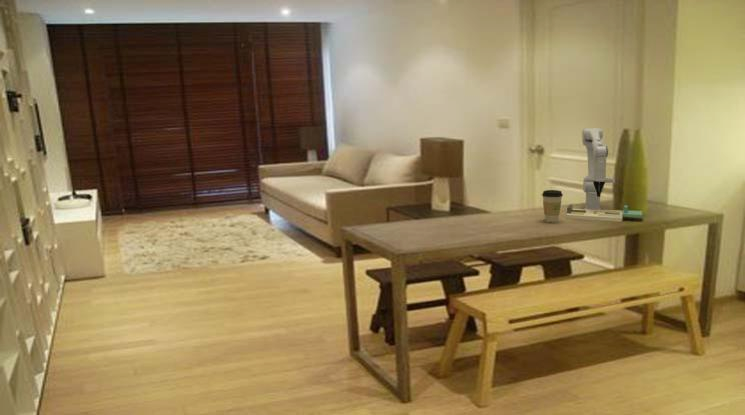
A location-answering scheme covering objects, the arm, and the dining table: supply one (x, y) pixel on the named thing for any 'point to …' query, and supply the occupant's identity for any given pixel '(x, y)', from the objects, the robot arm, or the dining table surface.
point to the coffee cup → (552, 205)
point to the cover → (631, 212)
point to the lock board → (596, 215)
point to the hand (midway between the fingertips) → (598, 196)
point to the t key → (570, 208)
